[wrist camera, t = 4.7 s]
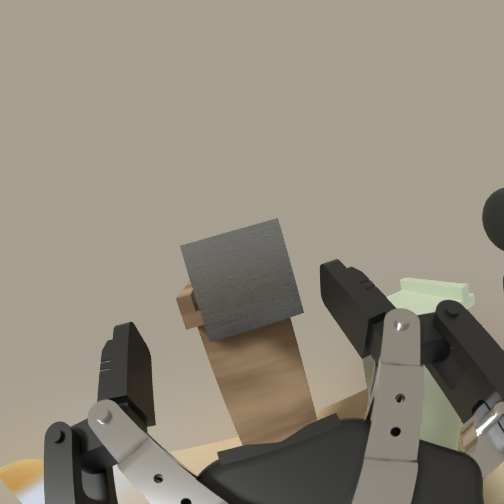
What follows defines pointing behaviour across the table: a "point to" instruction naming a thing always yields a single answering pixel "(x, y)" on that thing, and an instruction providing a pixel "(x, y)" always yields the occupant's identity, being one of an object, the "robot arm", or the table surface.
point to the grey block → (242, 279)
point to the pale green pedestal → (434, 400)
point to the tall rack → (257, 376)
